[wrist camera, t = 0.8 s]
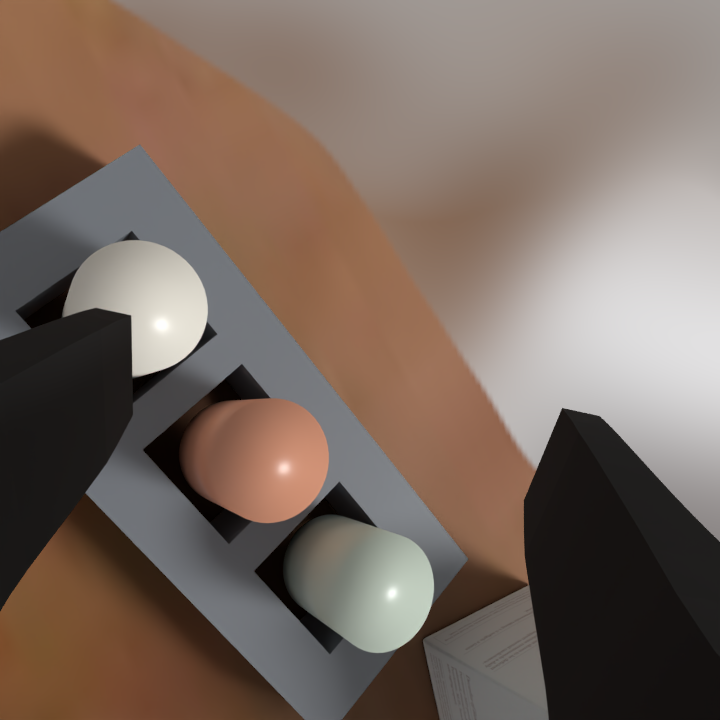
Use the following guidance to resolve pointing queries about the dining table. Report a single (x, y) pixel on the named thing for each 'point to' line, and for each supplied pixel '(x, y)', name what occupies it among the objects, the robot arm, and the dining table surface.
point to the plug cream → (144, 299)
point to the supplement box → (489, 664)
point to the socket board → (181, 392)
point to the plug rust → (255, 457)
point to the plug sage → (360, 581)
